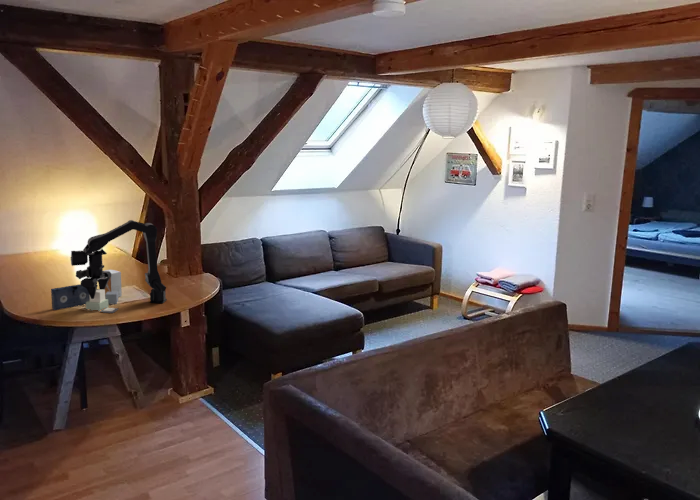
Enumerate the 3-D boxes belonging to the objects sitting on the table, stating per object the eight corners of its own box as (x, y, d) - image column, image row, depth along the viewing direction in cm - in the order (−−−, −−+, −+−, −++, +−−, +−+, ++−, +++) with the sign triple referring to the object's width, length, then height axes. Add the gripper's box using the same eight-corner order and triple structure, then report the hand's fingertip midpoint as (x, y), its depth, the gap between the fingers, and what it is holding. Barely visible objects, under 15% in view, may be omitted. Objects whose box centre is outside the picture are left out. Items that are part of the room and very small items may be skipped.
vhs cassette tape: (91, 301, 270) (90, 282, 268) (93, 303, 268) (92, 283, 267) (51, 309, 257) (50, 288, 255) (54, 310, 255) (52, 289, 253)
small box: (101, 296, 280) (100, 271, 278) (111, 293, 286) (110, 269, 283) (111, 298, 276) (110, 273, 274) (122, 296, 282) (121, 271, 279)
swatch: (118, 309, 261) (118, 307, 261) (112, 313, 255) (112, 311, 255) (105, 308, 261) (105, 307, 261) (100, 312, 255) (100, 310, 255)
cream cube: (105, 299, 263) (104, 289, 262) (100, 302, 258) (99, 292, 257) (94, 299, 263) (94, 288, 262) (89, 301, 258) (89, 291, 257)
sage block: (108, 307, 264) (108, 299, 263) (99, 311, 257) (99, 303, 256) (95, 306, 265) (94, 298, 264) (86, 310, 258) (85, 302, 257)
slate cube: (118, 301, 274) (118, 291, 273) (116, 304, 269) (116, 294, 268) (107, 301, 273) (107, 291, 272) (105, 304, 268) (105, 294, 267)
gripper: (88, 258, 266) (89, 289, 269) (68, 267, 248) (70, 300, 251) (111, 260, 266) (112, 291, 269) (92, 268, 248) (94, 302, 251)
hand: (97, 296), depth 260 cm, fingers open, 9 cm apart
